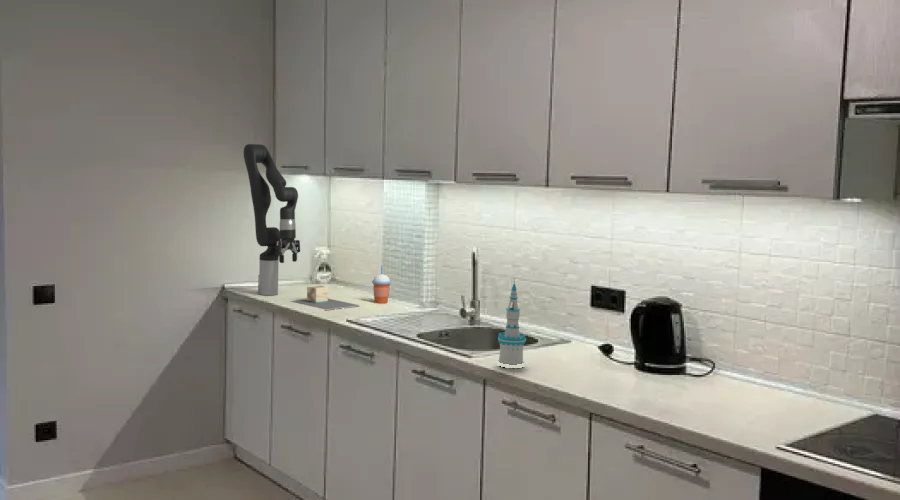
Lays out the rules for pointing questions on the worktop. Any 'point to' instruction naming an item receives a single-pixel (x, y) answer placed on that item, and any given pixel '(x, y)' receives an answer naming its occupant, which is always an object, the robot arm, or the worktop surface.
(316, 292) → the birch cube
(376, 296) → the cup with straw
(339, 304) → the rubber mat
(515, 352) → the model tower
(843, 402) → the worktop surface
